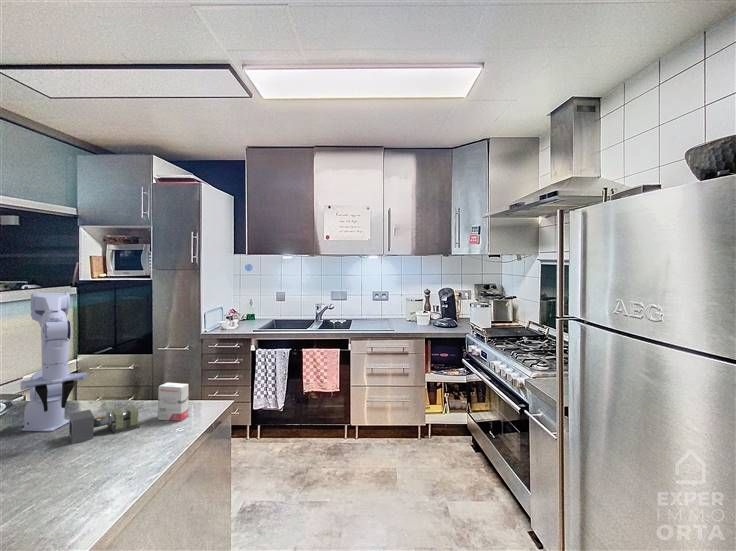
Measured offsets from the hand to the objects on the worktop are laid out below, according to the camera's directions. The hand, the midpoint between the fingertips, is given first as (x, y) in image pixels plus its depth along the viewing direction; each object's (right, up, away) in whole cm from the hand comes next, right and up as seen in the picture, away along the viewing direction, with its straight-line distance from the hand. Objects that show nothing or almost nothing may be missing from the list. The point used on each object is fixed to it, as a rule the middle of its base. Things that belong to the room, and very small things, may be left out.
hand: (54, 408), depth 105 cm
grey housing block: (+4, -11, +5) cm, 12 cm away
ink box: (+23, -11, +21) cm, 33 cm away
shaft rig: (+10, -11, +11) cm, 18 cm away
